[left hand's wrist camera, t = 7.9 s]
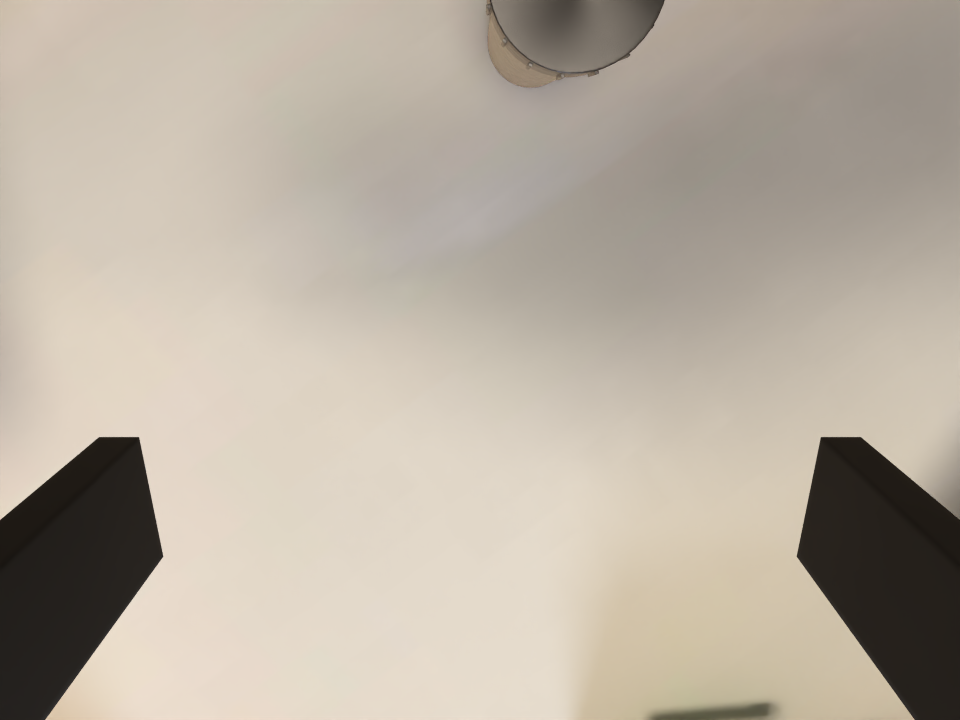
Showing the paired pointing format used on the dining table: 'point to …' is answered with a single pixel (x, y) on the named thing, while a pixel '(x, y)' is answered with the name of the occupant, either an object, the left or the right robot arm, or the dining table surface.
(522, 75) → the grey metal cylinder
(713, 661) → the dining table surface
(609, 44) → the lid
